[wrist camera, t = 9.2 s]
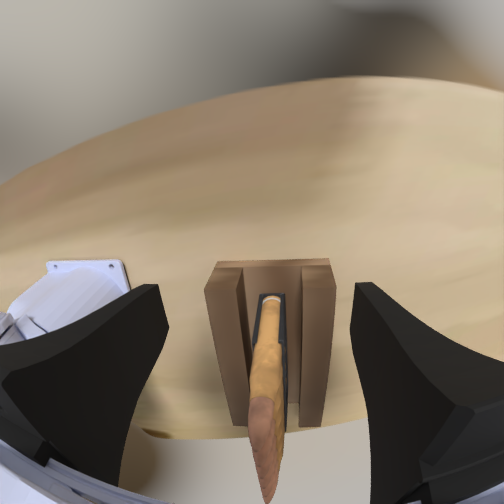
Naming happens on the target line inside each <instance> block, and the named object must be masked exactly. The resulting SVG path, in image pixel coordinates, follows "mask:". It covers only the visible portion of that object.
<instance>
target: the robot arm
mask: <svg viewBox="0 0 504 504" xmlns="http://www.w3.org/2000/svg"><path fill="white" fill-rule="evenodd" d="M111 264H112V265H113V266H114V267H112V265H111ZM46 267H47V270H48V273H47V274H46V275H45V276H43V277H42V278H41V279H40V280H38V281H37V282H36V283H35V284H33V285H32V286H31V287H30V288H29V289H27V290H26V291H25V292H24V293H22V294H21V295H20V296H19V297H18V298H17V299H15V300H14V301H13V302H12V304H11V305H10V307H9V309H8V311H7V314H6V313H4V312H0V504H93V503H91V502H90V501H88V500H86V499H89V500H91V501H93V502H95V503H98V504H173V503H169V502H165V501H161V500H157V499H153V498H149V497H146V496H143V495H139V494H136V493H133V492H130V491H127V490H124V489H121V488H118V481H119V473H120V466H121V460H122V455H123V450H124V446H125V441H126V437H127V433H128V430H129V426H130V422H131V419H132V416H133V413H134V410H135V407H136V404H137V401H138V398H139V396H140V394H141V391H142V389H143V387H144V385H145V383H146V381H147V379H148V377H149V375H150V373H151V371H152V369H153V367H154V365H155V363H156V361H157V359H158V357H159V355H160V353H161V351H162V349H163V346H164V343H165V340H166V337H167V333H168V330H169V325H168V321H167V317H166V314H165V310H164V306H163V302H162V298H161V294H160V290H159V286H158V284H143V285H141V286H138V287H136V288H134V289H132V290H131V291H130V288H129V284H128V281H127V277H126V274H125V270H124V266H123V264H122V262H121V261H120V260H117V259H112V260H70V261H49V262H47V263H46ZM350 336H351V343H352V350H353V355H354V359H355V363H356V367H357V370H358V374H359V378H360V382H361V386H362V390H363V394H364V398H365V402H366V408H367V414H368V424H369V435H370V449H371V450H370V452H371V495H370V504H504V362H502V361H499V360H496V359H493V358H490V357H488V356H485V355H482V354H480V353H477V352H475V351H473V350H471V349H468V348H466V347H464V346H462V345H460V344H458V343H456V342H454V341H452V340H450V339H449V338H447V337H445V336H444V335H442V334H440V333H439V332H437V331H435V330H434V329H432V328H431V327H429V326H427V325H426V324H425V323H423V322H422V321H420V320H419V319H418V318H416V317H415V316H413V315H412V314H411V313H410V312H408V311H407V310H406V309H404V308H403V307H402V306H401V305H399V304H398V303H397V302H396V301H395V300H393V299H392V298H391V297H390V296H389V295H387V294H386V293H385V292H384V291H383V290H381V289H380V288H379V287H378V286H376V285H375V284H374V283H372V282H362V283H355V290H354V299H353V308H352V316H351V323H350ZM81 496H82V497H84V498H86V499H84V498H82V497H81Z"/></svg>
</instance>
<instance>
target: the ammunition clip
mask: <svg viewBox="0 0 504 504" xmlns="http://www.w3.org/2000/svg"><path fill="white" fill-rule="evenodd" d="M252 349H253V359H252V366H251V372H250V380H249V381H250V401H249V402H250V406H249V413H248V432H249V438H250V443H251V446H252V451H253V457H254V461H255V464H256V470H257V474H258V479H259V482H260V487H261V491H262V495H263V499H264V502H265V503H266V504H269V503H270V501H271V500H272V498H273V496H274V493H275V490H276V486H277V482H278V474H279V469H280V463H281V460H282V456H283V448H284V433H285V432H286V427H287V406H288V358H287V326H286V301H285V294H284V293H264V294H259V300H258V306H257V313H256V319H255V325H254V331H253V337H252Z"/></svg>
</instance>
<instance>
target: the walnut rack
mask: <svg viewBox="0 0 504 504" xmlns="http://www.w3.org/2000/svg"><path fill="white" fill-rule="evenodd" d="M204 293H205V299H206V304H207V309H208V314H209V320H210V325H211V330H212V334H213V339H214V344H215V349H216V354H217V358H218V363H219V367H220V372H221V376H222V381H223V385H224V389H225V394H226V398H227V402H228V406H229V410H230V414H231V418H232V422H233V426H248V413H249V406H250V402H249V401H250V381H249V380H250V372H251V366H252V359H253V349H252V337H253V331H254V325H255V319H256V313H257V306H258V300H259V294H264V293H284V294H285V301H286V326H287V358H288V403H299V427H321V421H322V415H323V409H324V402H325V395H326V388H327V381H328V373H329V365H330V356H331V347H332V337H333V327H334V315H335V302H336V283H335V280H334V276H333V272H332V269H331V265H330V261H329V258H327V259H295V260H260V261H221V262H217V264H216V266H215V268H214V270H213V272H212V274H211V276H210V278H209V280H208V282H207V284H206V286H205V288H204Z"/></svg>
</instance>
